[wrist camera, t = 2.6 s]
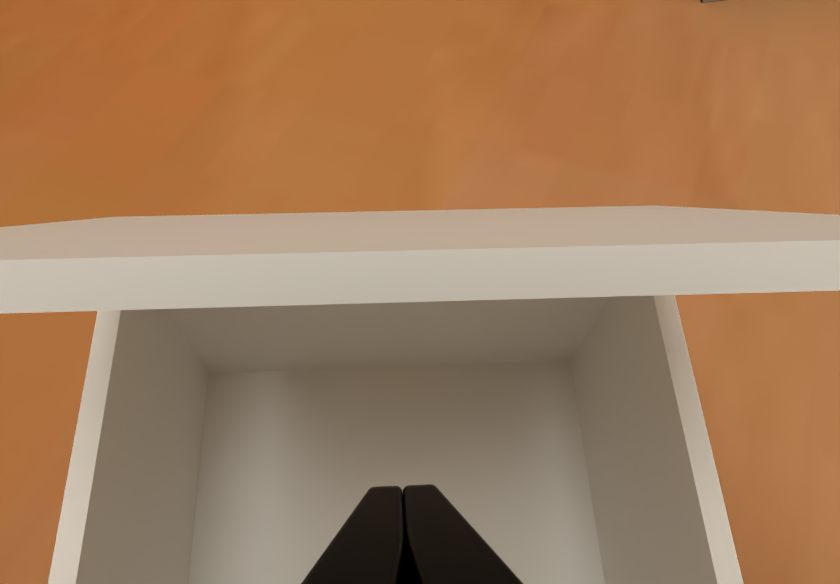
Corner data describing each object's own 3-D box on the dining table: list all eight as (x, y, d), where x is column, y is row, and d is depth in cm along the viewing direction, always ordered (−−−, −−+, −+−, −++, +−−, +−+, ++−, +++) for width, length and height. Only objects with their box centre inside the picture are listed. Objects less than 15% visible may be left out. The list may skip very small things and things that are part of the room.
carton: (639, 726, 19) (790, 783, 12) (157, 755, 18) (2, 834, 11) (579, 352, 24) (659, 229, 16) (198, 364, 23) (109, 242, 16)
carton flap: (1175, 280, 6) (1182, 231, 6) (-468, 326, 5) (-476, 271, 5) (654, 222, 16) (655, 205, 16) (114, 234, 16) (113, 217, 16)
